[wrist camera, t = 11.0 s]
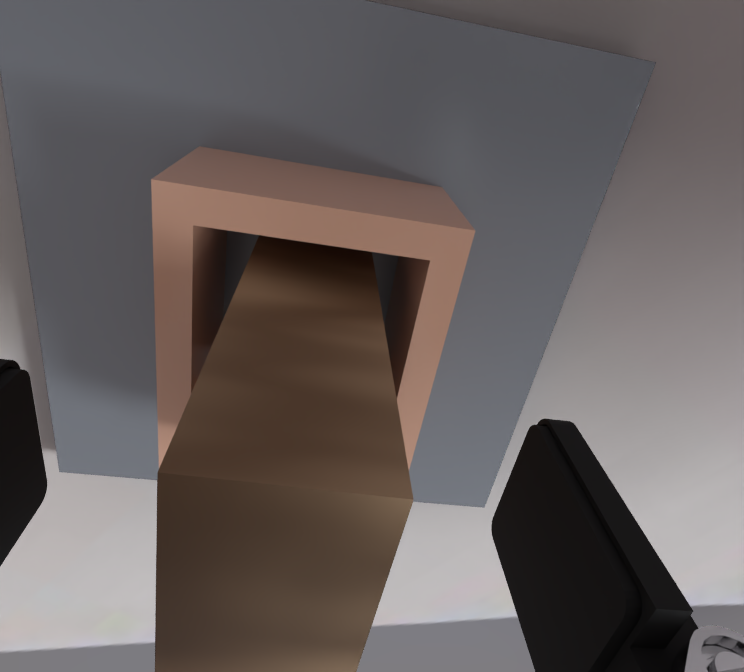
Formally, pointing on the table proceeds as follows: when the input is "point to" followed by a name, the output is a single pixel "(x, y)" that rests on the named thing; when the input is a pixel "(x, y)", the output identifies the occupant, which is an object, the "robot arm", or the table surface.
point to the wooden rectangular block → (283, 474)
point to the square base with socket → (301, 201)
